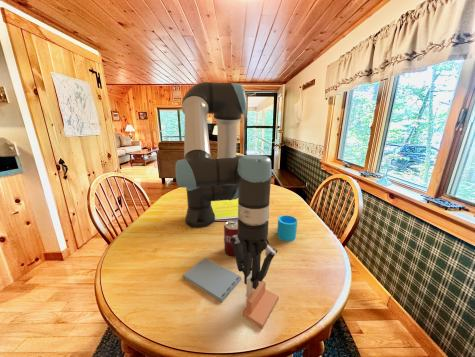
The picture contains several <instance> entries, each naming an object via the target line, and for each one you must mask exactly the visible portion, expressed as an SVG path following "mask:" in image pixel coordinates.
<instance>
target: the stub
mask: <svg viewBox="0 0 475 357" xmlns="http://www.w3.org/2000/svg"><path fill="white" fill-rule="evenodd" d="M279 297H280V296H279V295H278V294H276V293H274V292H272V291H270V290H268V289H266V281H264V280H262V282H260V281H259V285H258V287H257V288H256V290H255V289H254V290H253V291H252V292H251V294H250V295H249V297H248V298H247V297H246V301H245V307H244V309H243V310H242V312H241V316H242V317H244V318H245V319H246V320H248V321H250V322H251V321H252V322H251V323H253V324H254V323H255V324H254V325H256V326H257V327H259V328H260V327H261V329H262V330H263V328H264V327H265V325H266V324H267V321H268V320H269V318H270V315H271V314H272V312H273V310H274V308H275V306H276V305H277V302H278V301H279ZM267 319H268V320H267Z"/></svg>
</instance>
